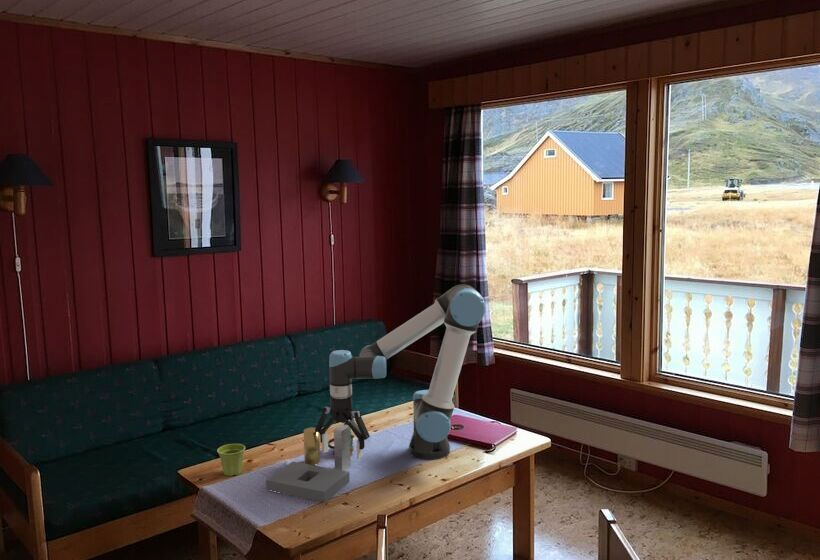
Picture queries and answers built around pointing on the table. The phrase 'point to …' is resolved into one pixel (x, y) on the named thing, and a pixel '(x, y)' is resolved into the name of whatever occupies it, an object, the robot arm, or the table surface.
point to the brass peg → (311, 446)
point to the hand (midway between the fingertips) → (342, 454)
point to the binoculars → (350, 442)
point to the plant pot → (231, 458)
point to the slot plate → (318, 486)
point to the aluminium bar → (342, 447)
